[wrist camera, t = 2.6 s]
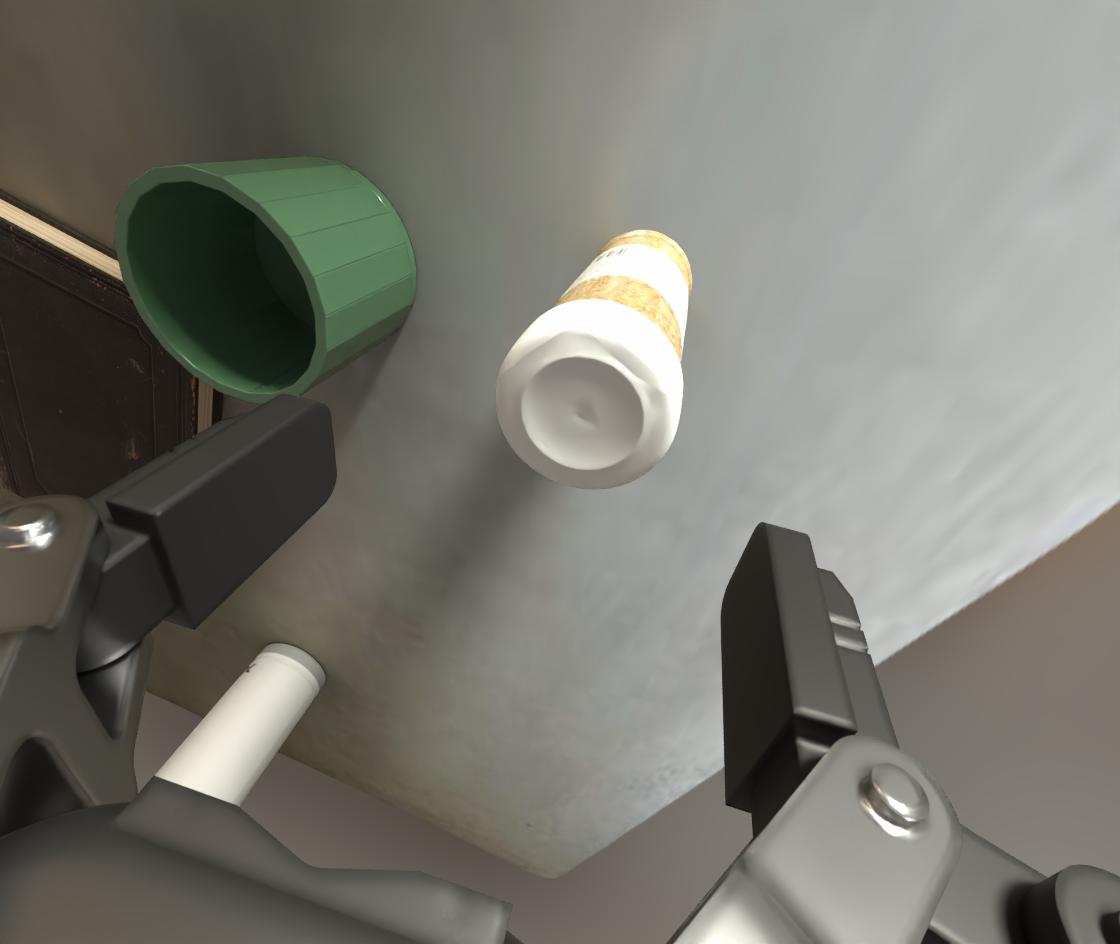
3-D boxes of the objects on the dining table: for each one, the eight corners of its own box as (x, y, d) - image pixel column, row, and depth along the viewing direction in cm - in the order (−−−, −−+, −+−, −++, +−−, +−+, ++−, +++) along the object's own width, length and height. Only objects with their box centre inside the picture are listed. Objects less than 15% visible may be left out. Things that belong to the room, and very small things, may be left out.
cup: (354, 120, 23) (222, 117, 17) (447, 315, 26) (368, 371, 20) (220, 201, 26) (70, 224, 20) (320, 364, 30) (219, 424, 24)
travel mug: (252, 635, 47) (10, 901, 31) (316, 648, 46) (99, 933, 30) (273, 679, 51) (66, 939, 34) (334, 692, 49) (148, 970, 33)
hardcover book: (228, 312, 29) (195, 324, 28) (213, 562, 43) (190, 582, 41) (-42, 167, 29) (-95, 170, 27) (28, 468, 42) (-4, 484, 40)
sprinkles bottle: (603, 341, 25) (522, 504, 14) (579, 241, 23) (462, 343, 12) (701, 321, 24) (693, 487, 13) (685, 213, 22) (659, 300, 11)
